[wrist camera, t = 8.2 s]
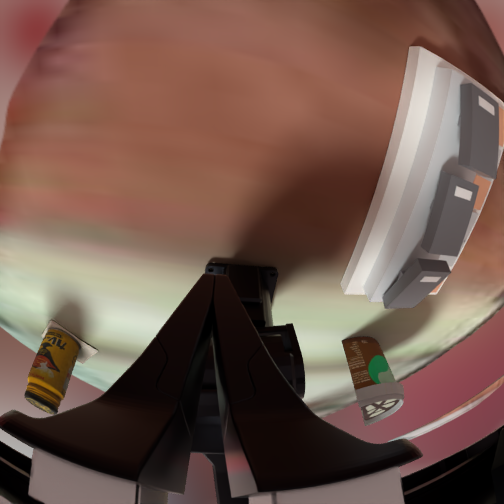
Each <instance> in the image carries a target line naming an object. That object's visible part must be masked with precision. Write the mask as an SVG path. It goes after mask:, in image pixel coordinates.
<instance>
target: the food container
mask: <svg viewBox="0 0 504 504" xmlns="http://www.w3.org/2000/svg"><path fill="white" fill-rule="evenodd" d="M342 344H343V348H344V351H345V355H346V358H347V362H348V365H349V369H350V373H351V377H352V380H353V384H354V388H355V392H356V396H357V400H358V404H359V407H361V411H362V415H363V419H364V424H365V426H366V425H370V424H372V423H375V422H377V421H379V420H382V419H384V418H386V417H387V416H389V415H391V414H393V413H394V412H395V411H397V410H398V409H399V408H400V407H401V406H402V405H403V399H404V390H403V385H402V384H400V383H396V381H395V379H394V376H393V374H392V372H391V369H390V367H389V365H388V363H387V361H386V358H385V356H384V354H383V352H382V350H381V348H380V345H379V343H378V341H377V340H376V339H374V338H372V337H364V336H363V337H354V338H349V339H346V340H342Z"/></svg>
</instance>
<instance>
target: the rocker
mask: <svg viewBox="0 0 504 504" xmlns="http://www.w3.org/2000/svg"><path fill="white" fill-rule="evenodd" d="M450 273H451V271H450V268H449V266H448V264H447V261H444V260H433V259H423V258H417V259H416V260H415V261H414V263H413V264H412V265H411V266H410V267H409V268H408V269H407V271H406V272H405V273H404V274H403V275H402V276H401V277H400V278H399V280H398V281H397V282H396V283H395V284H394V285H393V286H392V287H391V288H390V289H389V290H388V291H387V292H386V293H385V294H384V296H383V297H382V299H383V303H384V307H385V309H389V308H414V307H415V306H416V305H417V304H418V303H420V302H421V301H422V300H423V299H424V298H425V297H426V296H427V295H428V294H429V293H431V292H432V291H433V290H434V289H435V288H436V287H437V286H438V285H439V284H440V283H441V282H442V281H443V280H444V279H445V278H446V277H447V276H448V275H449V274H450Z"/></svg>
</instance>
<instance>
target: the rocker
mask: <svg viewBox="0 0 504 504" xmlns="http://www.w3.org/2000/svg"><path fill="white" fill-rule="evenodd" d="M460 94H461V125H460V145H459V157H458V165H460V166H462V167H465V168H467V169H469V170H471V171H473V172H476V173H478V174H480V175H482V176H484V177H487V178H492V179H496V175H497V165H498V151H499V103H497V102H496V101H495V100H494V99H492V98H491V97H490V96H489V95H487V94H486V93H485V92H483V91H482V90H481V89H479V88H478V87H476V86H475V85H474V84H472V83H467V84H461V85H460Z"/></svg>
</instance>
